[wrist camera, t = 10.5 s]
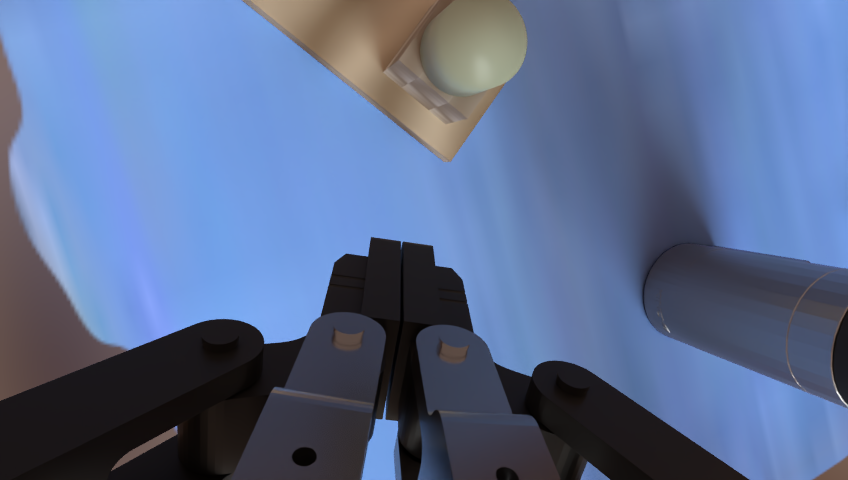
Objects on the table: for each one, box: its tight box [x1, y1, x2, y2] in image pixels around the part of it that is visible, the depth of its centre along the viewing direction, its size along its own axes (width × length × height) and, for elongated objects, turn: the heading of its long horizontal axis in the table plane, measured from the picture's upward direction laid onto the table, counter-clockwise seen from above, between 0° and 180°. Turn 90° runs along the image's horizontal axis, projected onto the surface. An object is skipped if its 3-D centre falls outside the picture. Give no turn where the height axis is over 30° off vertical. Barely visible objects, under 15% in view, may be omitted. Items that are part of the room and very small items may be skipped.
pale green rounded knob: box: [420, 0, 527, 97], centre depth 35 cm, size 6×6×7 cm
